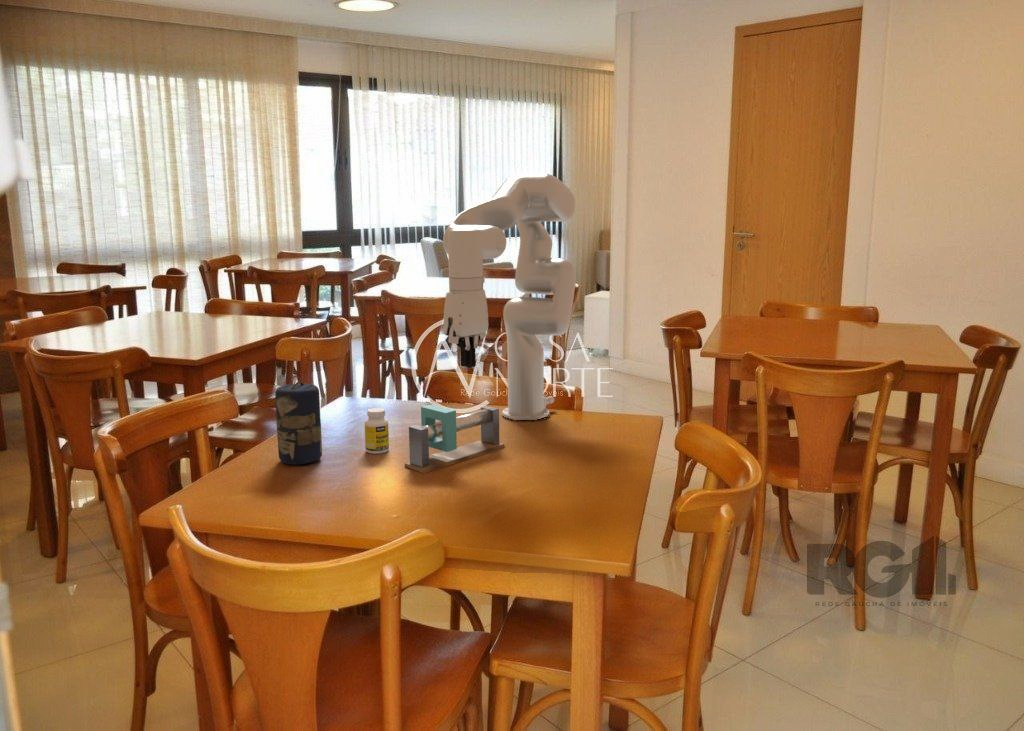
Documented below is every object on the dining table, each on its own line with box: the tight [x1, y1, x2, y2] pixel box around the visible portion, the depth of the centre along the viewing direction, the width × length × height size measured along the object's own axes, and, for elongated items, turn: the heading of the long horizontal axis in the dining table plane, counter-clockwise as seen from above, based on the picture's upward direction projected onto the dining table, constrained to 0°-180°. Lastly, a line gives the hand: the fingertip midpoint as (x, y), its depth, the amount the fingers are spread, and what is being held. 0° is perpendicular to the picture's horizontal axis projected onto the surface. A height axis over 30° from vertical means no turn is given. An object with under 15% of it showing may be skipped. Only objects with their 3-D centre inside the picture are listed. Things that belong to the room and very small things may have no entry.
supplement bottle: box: [364, 407, 390, 455], centre depth 195 cm, size 5×5×10 cm
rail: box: [408, 405, 500, 468], centre depth 190 cm, size 24×4×9 cm, turn 137°
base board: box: [404, 439, 506, 474], centre depth 191 cm, size 25×6×1 cm, turn 137°
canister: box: [274, 381, 323, 465], centre depth 187 cm, size 10×10×18 cm
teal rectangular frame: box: [420, 404, 458, 452], centre depth 186 cm, size 3×8×9 cm, turn 47°
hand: (468, 366), depth 190 cm, fingers closed
